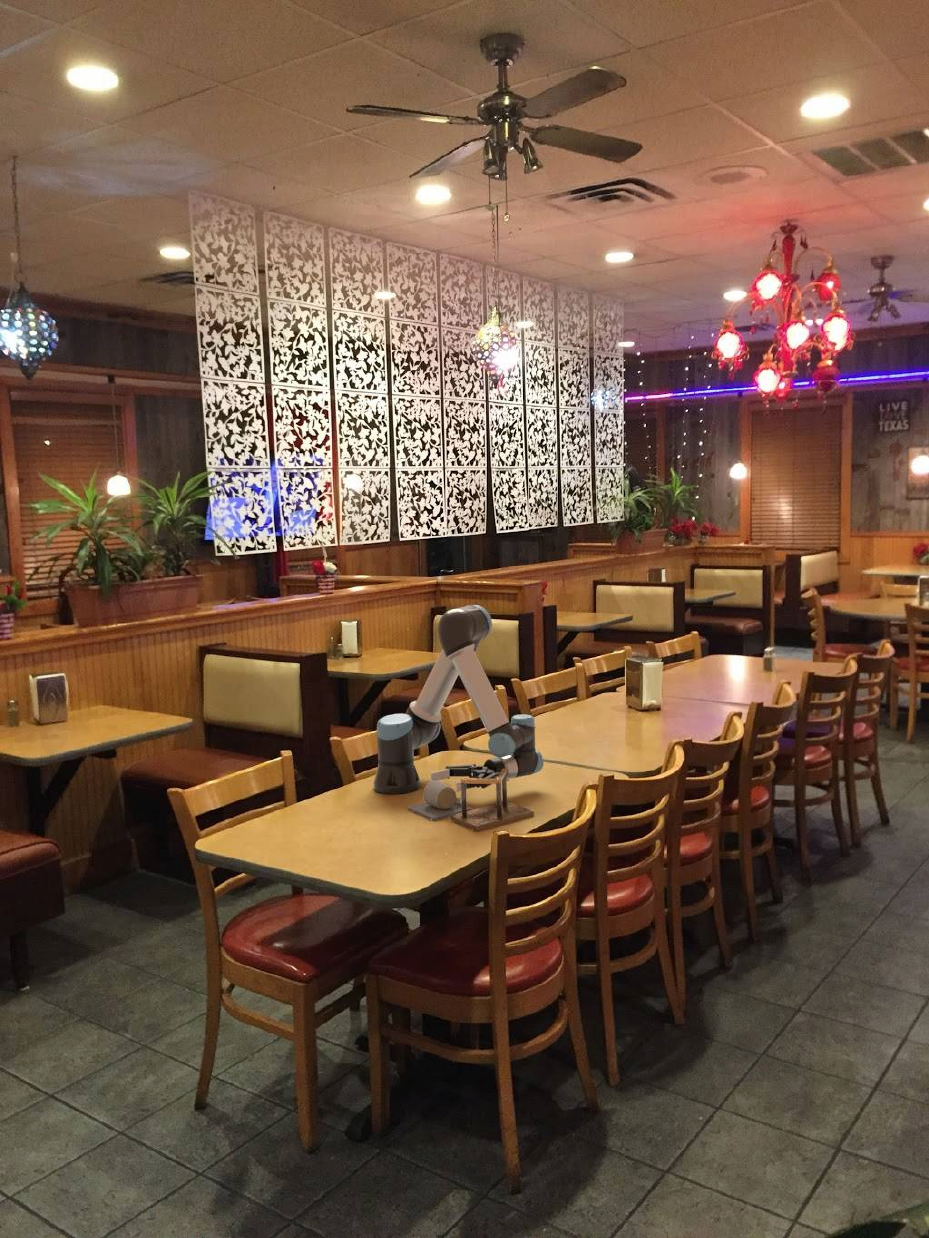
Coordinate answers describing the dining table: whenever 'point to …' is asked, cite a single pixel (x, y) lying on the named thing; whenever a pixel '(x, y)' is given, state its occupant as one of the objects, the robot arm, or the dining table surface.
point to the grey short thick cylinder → (440, 795)
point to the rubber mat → (436, 811)
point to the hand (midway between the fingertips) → (443, 781)
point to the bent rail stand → (490, 807)
